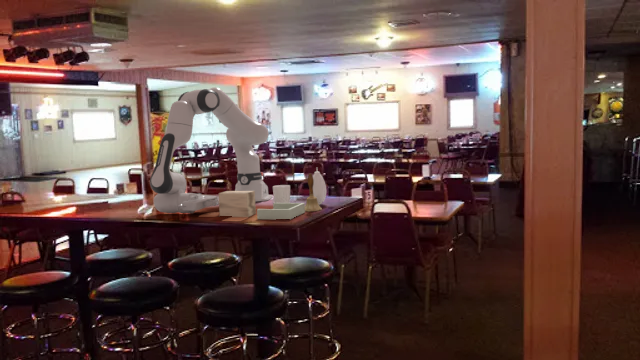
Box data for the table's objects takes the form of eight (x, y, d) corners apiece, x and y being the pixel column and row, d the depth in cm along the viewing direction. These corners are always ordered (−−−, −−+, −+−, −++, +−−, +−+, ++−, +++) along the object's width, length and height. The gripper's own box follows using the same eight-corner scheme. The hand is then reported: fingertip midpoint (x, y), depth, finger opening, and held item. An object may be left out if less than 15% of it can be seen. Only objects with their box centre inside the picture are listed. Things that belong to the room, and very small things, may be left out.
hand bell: (309, 212, 235) (308, 174, 234) (299, 210, 242) (297, 173, 240) (325, 209, 240) (324, 173, 239) (314, 207, 247) (313, 172, 245)
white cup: (274, 209, 246) (273, 187, 245) (272, 207, 254) (271, 185, 253) (292, 208, 248) (291, 186, 247) (289, 206, 255) (288, 184, 254)
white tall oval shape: (325, 205, 251) (323, 166, 250) (308, 206, 253) (306, 166, 251) (328, 203, 259) (326, 165, 257) (311, 203, 261) (310, 165, 259)
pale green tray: (274, 212, 239) (273, 202, 239) (304, 212, 235) (304, 203, 234) (257, 219, 222) (256, 209, 222) (289, 219, 218) (289, 209, 217)
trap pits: (210, 212, 244) (210, 212, 244) (260, 213, 237) (260, 212, 237) (186, 220, 226) (186, 219, 226) (240, 221, 218) (240, 220, 218)
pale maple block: (228, 213, 240) (227, 190, 239) (255, 214, 236) (254, 190, 235) (219, 216, 233) (218, 193, 232) (248, 217, 229) (246, 193, 228)
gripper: (175, 199, 231) (204, 199, 227) (199, 193, 250) (227, 193, 246) (176, 214, 232) (205, 214, 227) (200, 206, 251) (228, 207, 247)
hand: (217, 203), depth 237 cm, fingers closed
